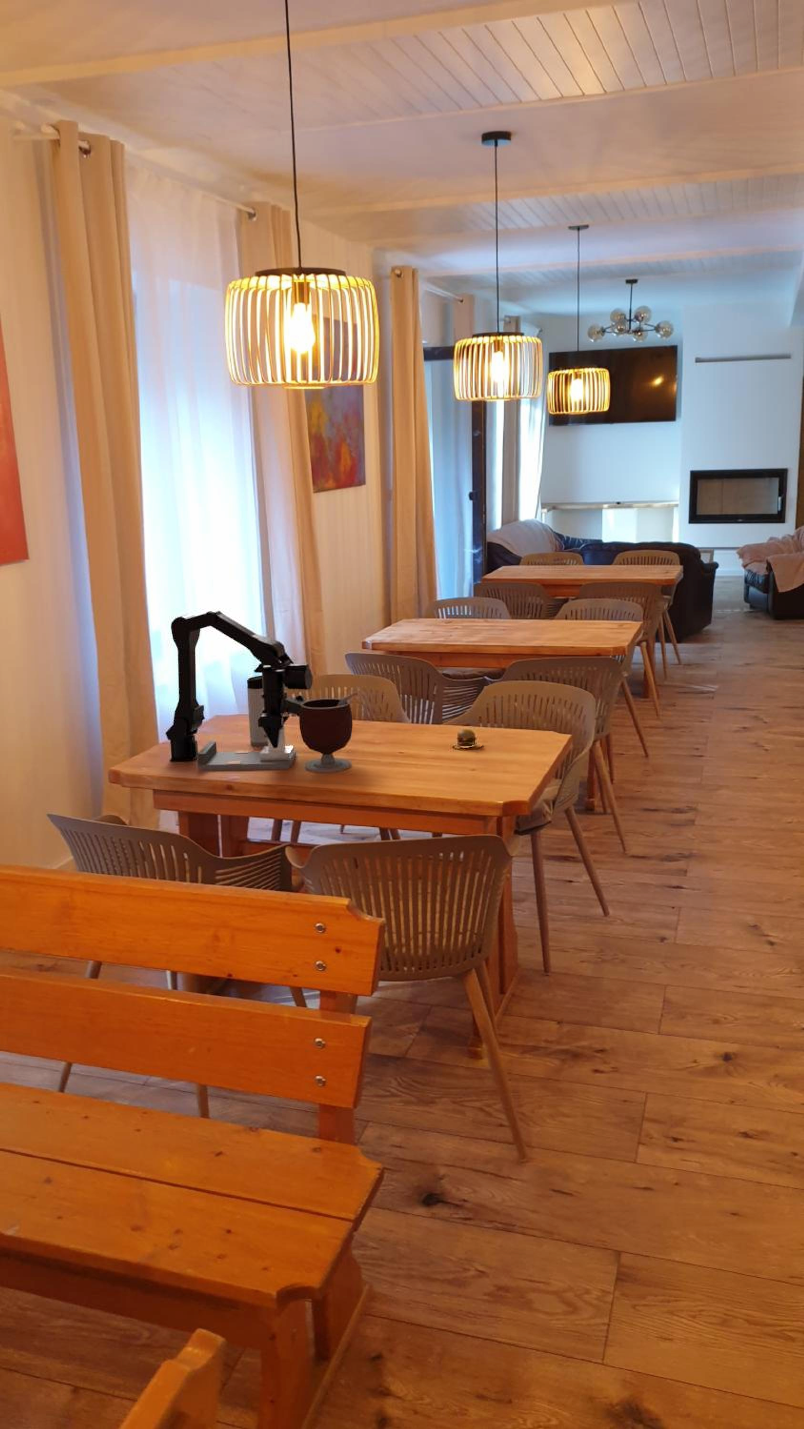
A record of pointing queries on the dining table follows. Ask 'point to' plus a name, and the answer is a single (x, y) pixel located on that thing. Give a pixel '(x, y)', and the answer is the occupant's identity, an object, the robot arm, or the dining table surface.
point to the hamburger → (466, 738)
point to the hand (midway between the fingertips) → (276, 745)
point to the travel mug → (256, 711)
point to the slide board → (236, 760)
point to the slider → (277, 749)
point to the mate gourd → (326, 731)
